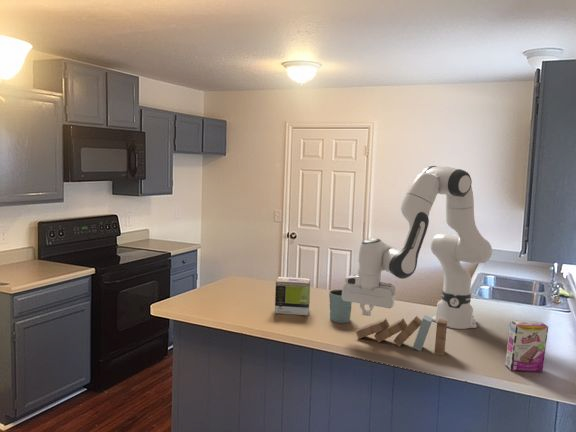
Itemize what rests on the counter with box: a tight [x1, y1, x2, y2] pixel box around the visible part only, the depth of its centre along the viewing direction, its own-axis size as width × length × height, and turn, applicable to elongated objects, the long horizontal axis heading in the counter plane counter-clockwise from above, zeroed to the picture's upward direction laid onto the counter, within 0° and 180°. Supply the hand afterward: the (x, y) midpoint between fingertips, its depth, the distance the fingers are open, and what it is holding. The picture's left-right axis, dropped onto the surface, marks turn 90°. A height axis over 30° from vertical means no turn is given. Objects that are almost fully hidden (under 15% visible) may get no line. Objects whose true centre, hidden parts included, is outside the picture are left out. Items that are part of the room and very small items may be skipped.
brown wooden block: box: [434, 318, 448, 356], centre depth 179 cm, size 5×3×12 cm, turn 156°
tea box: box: [274, 276, 311, 316], centre depth 219 cm, size 15×10×15 cm, turn 84°
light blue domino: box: [412, 314, 433, 352], centre depth 182 cm, size 5×3×12 cm, turn 156°
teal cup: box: [328, 289, 353, 324], centre depth 211 cm, size 10×10×12 cm
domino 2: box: [373, 318, 408, 344], centre depth 187 cm, size 5×3×12 cm
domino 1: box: [355, 318, 390, 339], centre depth 190 cm, size 5×3×12 cm
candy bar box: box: [504, 320, 549, 373], centre depth 167 cm, size 11×5×16 cm, turn 92°
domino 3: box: [393, 315, 423, 347], centre depth 184 cm, size 5×3×12 cm
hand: (366, 315), depth 190 cm, fingers closed
